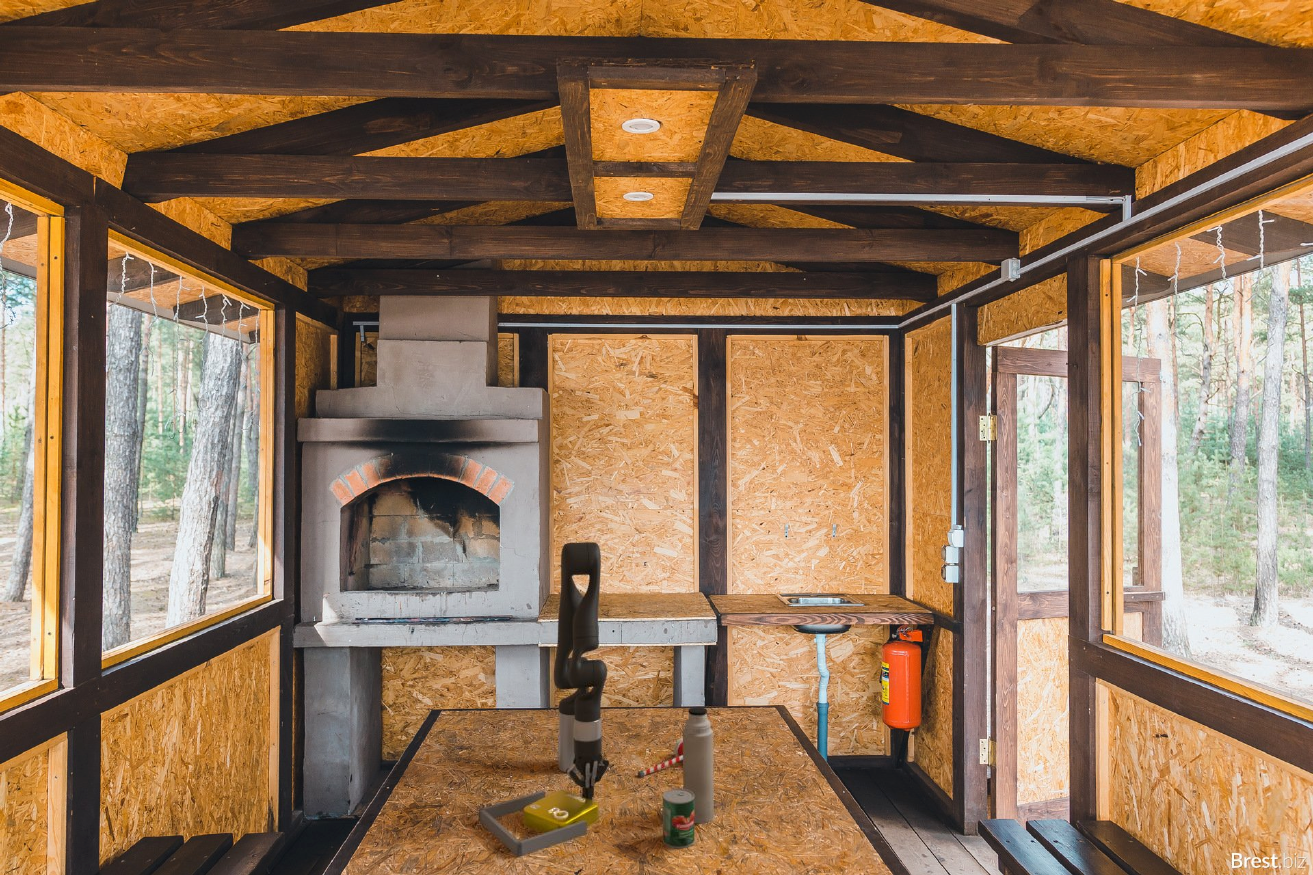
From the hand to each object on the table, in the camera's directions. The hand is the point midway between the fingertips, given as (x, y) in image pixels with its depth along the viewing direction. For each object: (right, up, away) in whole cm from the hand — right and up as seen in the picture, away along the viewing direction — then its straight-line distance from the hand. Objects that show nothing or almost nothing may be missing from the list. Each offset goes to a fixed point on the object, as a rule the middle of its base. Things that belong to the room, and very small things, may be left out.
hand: (587, 799), depth 206 cm
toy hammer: (+25, -4, +28) cm, 38 cm away
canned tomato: (+24, -2, -17) cm, 30 cm away
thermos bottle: (+30, -2, -5) cm, 30 cm away
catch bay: (-14, -2, -10) cm, 17 cm away
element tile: (-6, -3, -7) cm, 10 cm away
